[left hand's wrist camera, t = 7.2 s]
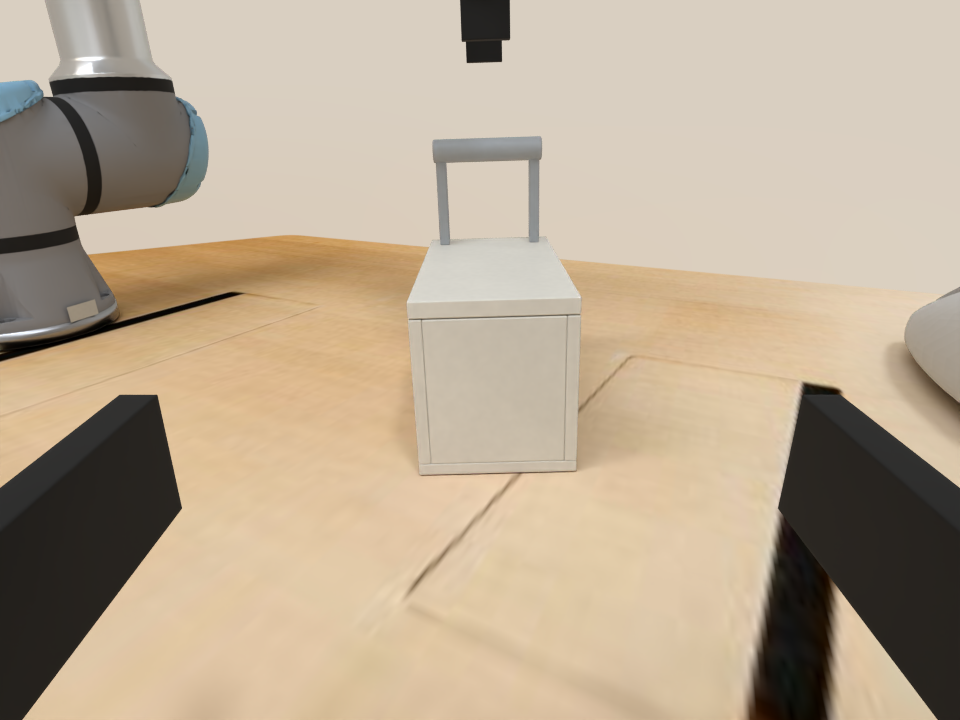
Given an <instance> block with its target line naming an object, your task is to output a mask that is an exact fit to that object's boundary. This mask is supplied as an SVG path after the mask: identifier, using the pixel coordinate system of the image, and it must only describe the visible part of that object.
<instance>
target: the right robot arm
mask: <svg viewBox="0 0 960 720" xmlns="http://www.w3.org/2000/svg"><path fill="white" fill-rule="evenodd" d="M45 3H46V7H47V10H48V14H49V18H50V22H51V26H52V29H53V33H54V37H55V41H56V44H57V48H58V52H59V56H60V60H61V61H60V64H59V66H58V68H57V69H56V70H55V71H54V73H53V74H52V75H51V77H50V78H49V83H50V87H51V90H52V94H53V97H43V91H42V90H41V89H40V88H39V86H38V84H37V83H36V82H34V81H32V80H25V81H12V82H2V83H0V351H1V350H10V349H18V348H25V347H31V346H37V345H42V344H47V343H52V342H56V341H61V340H65V339H69V338H72V337H76V336H79V335H83V334H86V333H89V332H91V331H94V330H97V329H99V328H102V327H104V326H106V325H108V324H110V323H111V322H113V321H114V320H115V319H117V317H118V316H119V310H118V306H117V302H116V299H115V297H114V295H113V293H112V291H111V290H110V288H109V287H108V285H107V284H106V282H105V281H104V279H103V278H102V276H101V275H100V273H99V272H98V270H97V269H96V267H95V266H94V264H93V263H92V261H91V260H90V258H89V257H88V255H87V254H86V252H85V251H84V249H83V247H82V245H81V242H80V238H79V235H78V231H77V228H76V223H75V218H74V216H80V215H88V214H96V213H104V212H111V211H119V210H127V209H135V208H143V207H161V206H163V205H165V204H169V203H175V202H180V201H183V200H186V199H188V198H190V197H191V196H192V195H194V194H195V193H196V192H197V190H198V189H199V187H200V185H201V182H202V181H203V180H204V178H205V174H206V171H207V166H208V140H207V135H206V130H205V127H204V124H203V122H202V120H201V118H200V117H199V116H197V111H196V110H195V108H194V107H193V106H192V105H191V104H190V103H188V102H187V101H184V100H182V99H181V98H178V97H175V92H174V87H173V83H172V79H171V77H170V76H168V75H167V74H166V73H165V72H164V71H162V70H161V69H160V68H159V67H157V66H156V65H155V63H154V62H153V60H152V56H151V51H150V46H149V42H148V37H147V33H146V28H145V23H144V19H143V14H142V10H141V5H140V1H139V0H45ZM460 6H461V32H462V42H466V56H467V63H483V62H502V40H510V0H460Z"/></svg>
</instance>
